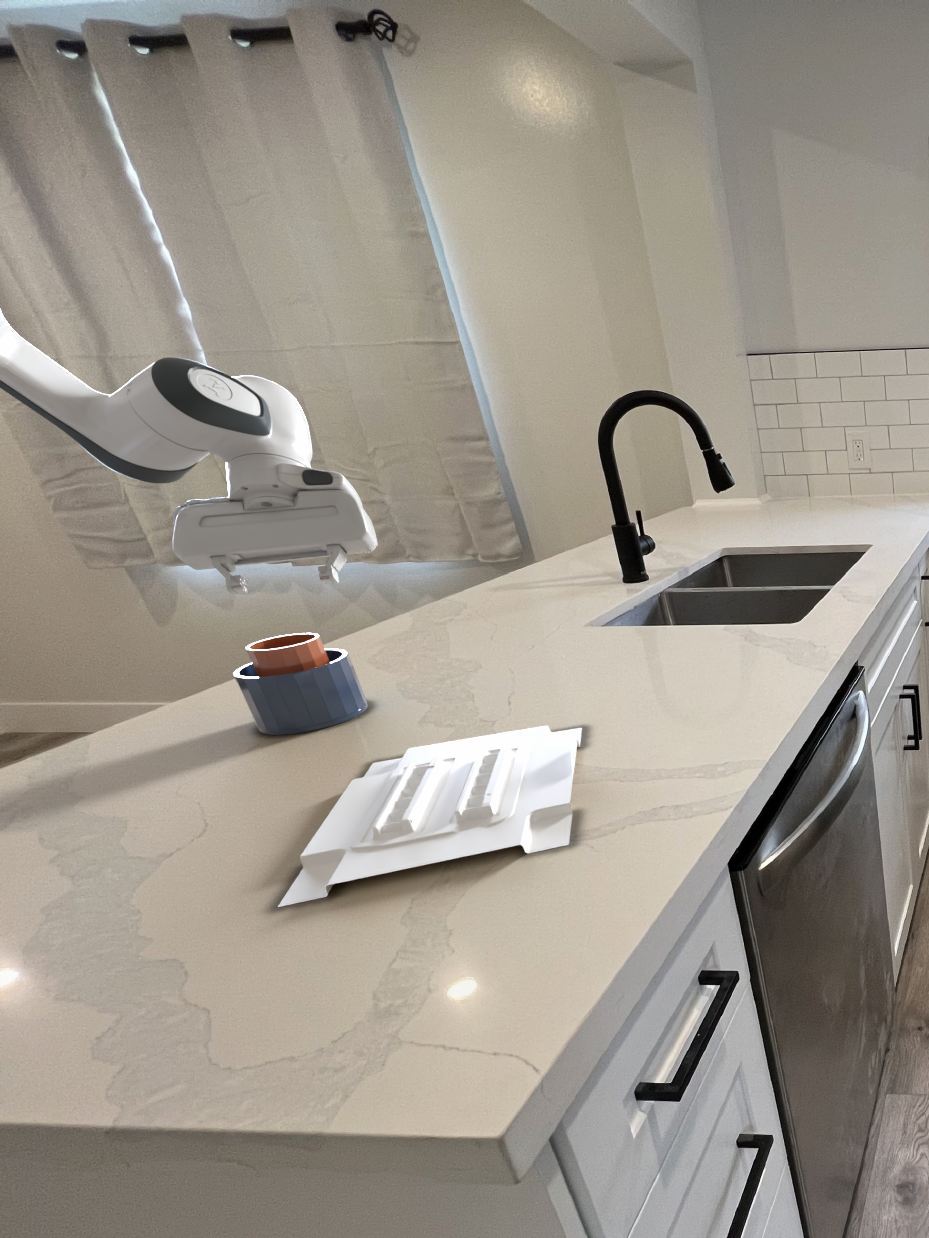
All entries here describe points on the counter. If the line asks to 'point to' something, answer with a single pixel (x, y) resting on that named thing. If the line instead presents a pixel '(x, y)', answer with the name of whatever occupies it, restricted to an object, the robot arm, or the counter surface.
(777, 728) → the counter surface
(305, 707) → the stack cup
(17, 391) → the robot arm
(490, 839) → the tray
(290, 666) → the terracotta cup
